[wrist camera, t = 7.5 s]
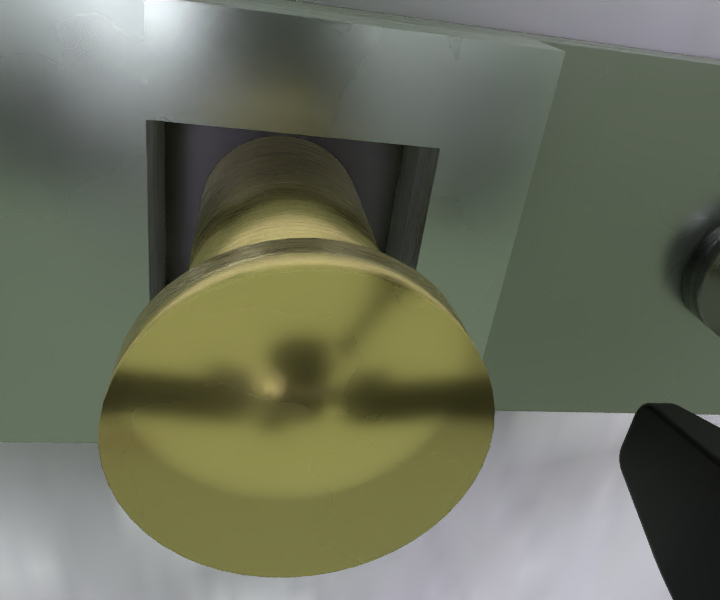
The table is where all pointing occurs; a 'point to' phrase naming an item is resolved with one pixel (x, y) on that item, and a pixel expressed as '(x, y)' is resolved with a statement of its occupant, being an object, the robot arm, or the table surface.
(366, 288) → the brass pin
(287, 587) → the table surface
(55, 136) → the plate with square hole
